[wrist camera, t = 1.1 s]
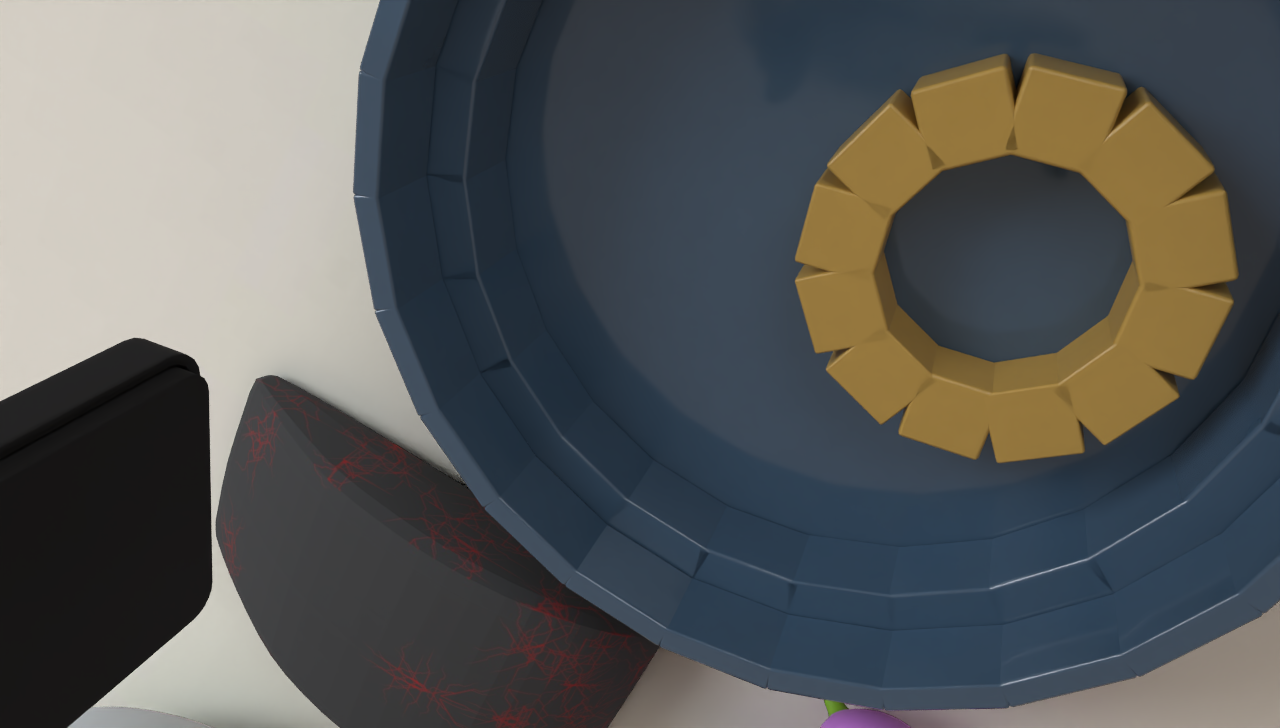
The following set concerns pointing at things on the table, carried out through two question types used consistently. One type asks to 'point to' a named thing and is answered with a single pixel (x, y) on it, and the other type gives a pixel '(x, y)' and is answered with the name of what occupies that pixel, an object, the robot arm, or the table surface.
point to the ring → (1098, 359)
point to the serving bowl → (132, 719)
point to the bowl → (780, 340)
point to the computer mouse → (403, 585)
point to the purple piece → (858, 718)
